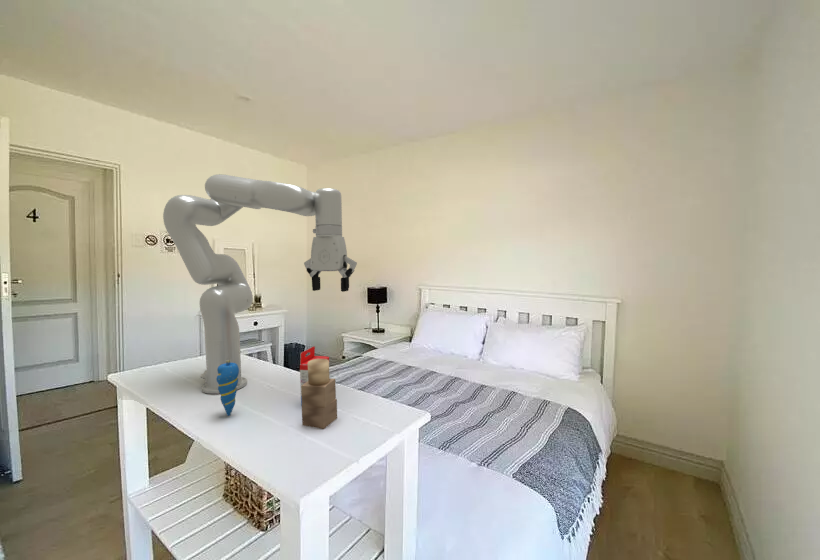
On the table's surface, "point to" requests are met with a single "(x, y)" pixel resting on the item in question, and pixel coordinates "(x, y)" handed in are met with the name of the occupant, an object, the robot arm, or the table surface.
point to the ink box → (304, 364)
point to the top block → (318, 394)
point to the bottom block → (319, 415)
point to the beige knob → (318, 372)
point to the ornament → (228, 384)
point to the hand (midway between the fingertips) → (330, 290)
